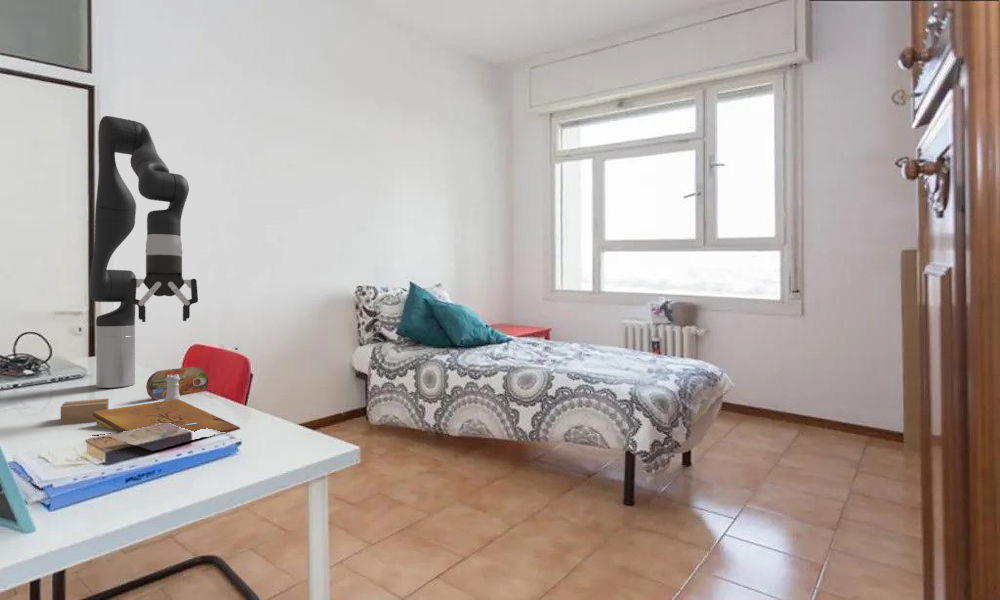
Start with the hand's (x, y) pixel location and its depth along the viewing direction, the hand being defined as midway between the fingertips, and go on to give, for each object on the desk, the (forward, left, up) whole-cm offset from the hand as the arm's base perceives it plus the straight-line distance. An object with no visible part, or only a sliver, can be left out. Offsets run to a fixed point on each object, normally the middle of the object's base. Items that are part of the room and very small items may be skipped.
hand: (164, 321), depth 137 cm
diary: (+19, -1, -26) cm, 32 cm away
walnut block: (+4, -15, -22) cm, 27 cm away
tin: (-15, +4, -21) cm, 26 cm away
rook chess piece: (-1, +2, -21) cm, 21 cm away
